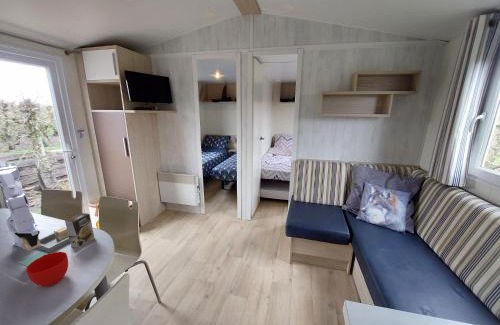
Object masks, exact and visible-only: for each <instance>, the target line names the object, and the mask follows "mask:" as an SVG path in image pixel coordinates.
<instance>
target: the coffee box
mask: <svg viewBox="0 0 500 325" xmlns="http://www.w3.org/2000/svg"><path fill="white" fill-rule="evenodd" d="M64 223H65V227H66V228H67V232H68V235H69V240H70V242H69V244H70V247H72V248H82V247H83V246H85V245H86V244H88V243H90V242H91V241H93V240H94V239H95V237H96V236H95V233H94V229H93V224H92V219H91V215H90V213H84V212H80V213H78V214H76V215H73V216H71V217H69V218H68V219H65V220H64Z"/></svg>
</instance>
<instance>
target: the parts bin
mask: <svg viewBox="0 0 500 325" xmlns="http://www.w3.org/2000/svg"><path fill="white" fill-rule="evenodd" d="M39 241H40V244H41V245H40V246H38V247H36V248H37V249H40V250H41V251H42V250H43V251H44V252H46V253H53V252H55V251H56V250H58V249H59V248H62V247H63V246H65V245H68V244H70V240H69V238H67V239H65V240H63V241H61V242H60V241H57V240H56V237H55V234H54V232H53V233H50V234H48V235H46V236H43V237H42V238H39Z"/></svg>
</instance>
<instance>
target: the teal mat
mask: <svg viewBox="0 0 500 325" xmlns="http://www.w3.org/2000/svg"><path fill="white" fill-rule="evenodd" d="M45 254H46V255H47V254H49V252H46V251H42V250H41V251H39V252H37V253H35V254H33V255H31V256H29V257H27V258H25V259H23V260H21V261H19V262H18V264H20V265H23V266H25V267H26V268H27V267H28V265H29V264H30V263H32V262H33V261H34V260H36V259H38V258H40V257H42V256H43V255H45Z"/></svg>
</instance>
